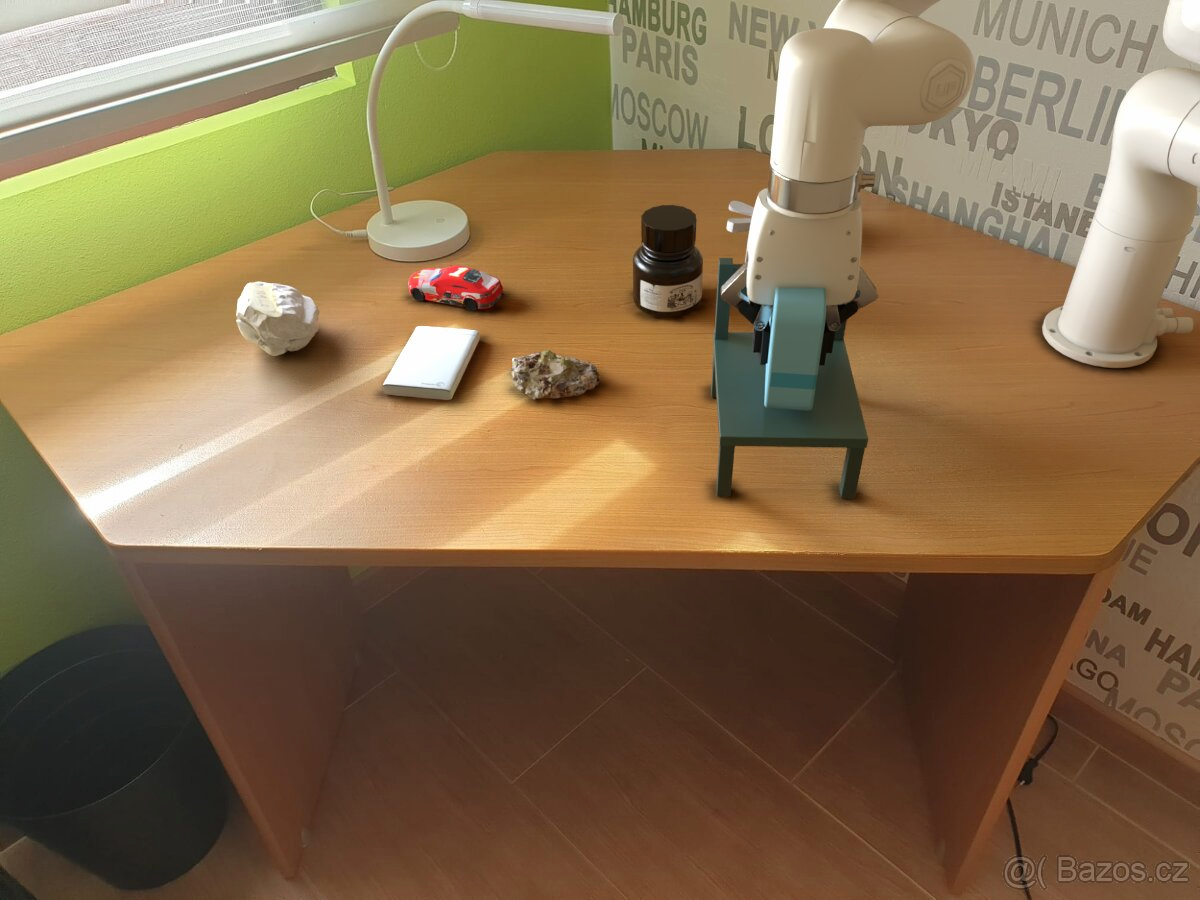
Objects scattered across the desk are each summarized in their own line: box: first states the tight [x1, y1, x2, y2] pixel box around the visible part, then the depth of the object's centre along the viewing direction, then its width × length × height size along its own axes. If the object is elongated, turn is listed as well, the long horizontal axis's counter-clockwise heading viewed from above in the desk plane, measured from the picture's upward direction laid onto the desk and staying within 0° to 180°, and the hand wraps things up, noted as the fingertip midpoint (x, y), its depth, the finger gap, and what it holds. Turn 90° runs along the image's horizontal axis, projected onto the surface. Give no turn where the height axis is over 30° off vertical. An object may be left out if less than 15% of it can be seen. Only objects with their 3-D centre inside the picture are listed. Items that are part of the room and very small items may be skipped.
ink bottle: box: [632, 204, 704, 318], centre depth 121 cm, size 10×9×12 cm
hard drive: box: [382, 325, 481, 401], centre depth 115 cm, size 2×8×12 cm
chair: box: [710, 257, 869, 500], centre depth 97 cm, size 14×18×17 cm
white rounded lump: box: [235, 281, 320, 357], centre depth 117 cm, size 12×8×10 cm
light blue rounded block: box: [764, 288, 826, 411], centre depth 92 cm, size 12×4×12 cm, turn 171°
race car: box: [407, 264, 505, 312], centre depth 126 cm, size 13×5×4 cm, turn 68°
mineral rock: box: [510, 349, 602, 401], centre depth 111 cm, size 11×4×8 cm
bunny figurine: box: [726, 200, 755, 234], centre depth 135 cm, size 10×5×15 cm
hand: (790, 355), depth 94 cm, fingers closed on light blue rounded block, 4 cm apart
